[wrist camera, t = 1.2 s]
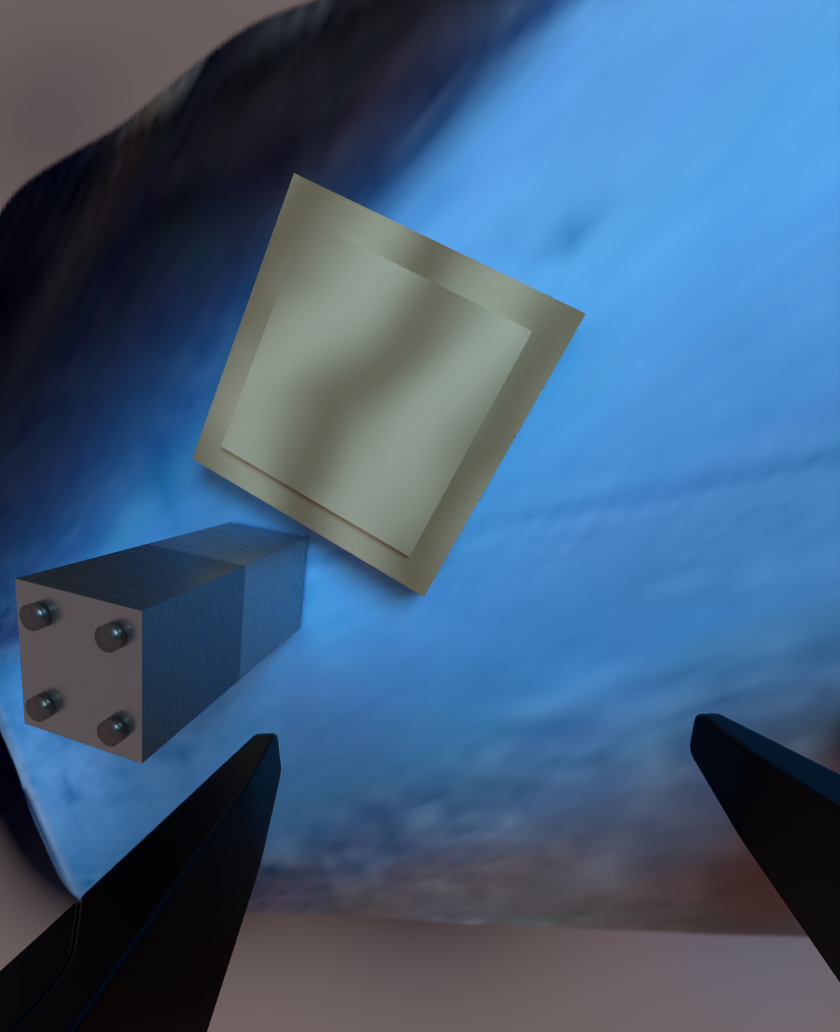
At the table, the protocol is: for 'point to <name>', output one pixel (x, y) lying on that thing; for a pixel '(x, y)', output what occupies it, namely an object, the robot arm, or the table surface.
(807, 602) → the table surface
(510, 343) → the stand
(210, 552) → the plate
